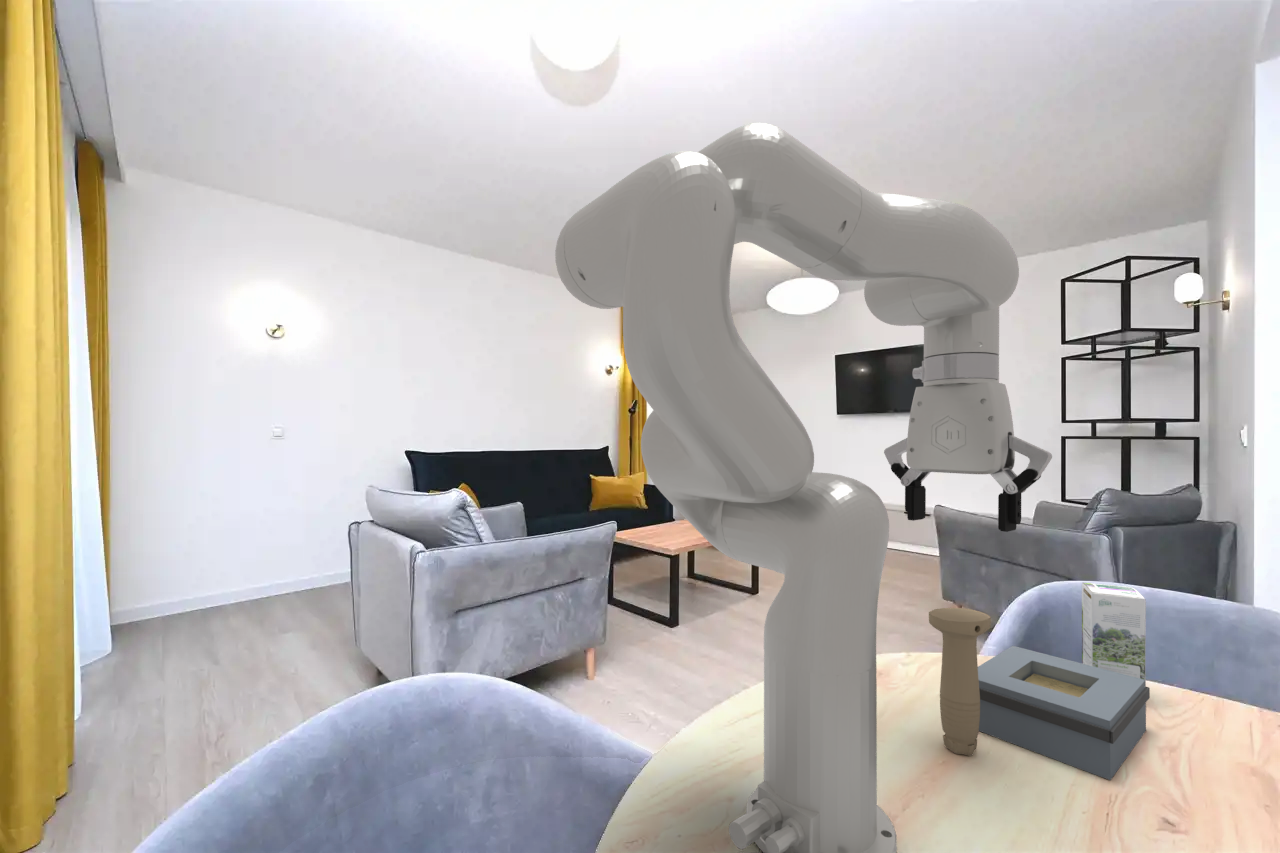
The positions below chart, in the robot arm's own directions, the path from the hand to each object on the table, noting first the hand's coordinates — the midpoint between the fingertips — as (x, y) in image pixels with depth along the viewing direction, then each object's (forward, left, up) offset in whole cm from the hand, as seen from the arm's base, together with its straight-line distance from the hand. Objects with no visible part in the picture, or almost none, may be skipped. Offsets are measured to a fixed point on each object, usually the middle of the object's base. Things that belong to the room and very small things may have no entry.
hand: (959, 524), depth 64 cm
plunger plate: (+14, -5, -21) cm, 26 cm away
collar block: (+14, -5, -25) cm, 29 cm away
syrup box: (+31, -7, -25) cm, 40 cm away
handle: (0, 0, -25) cm, 25 cm away
